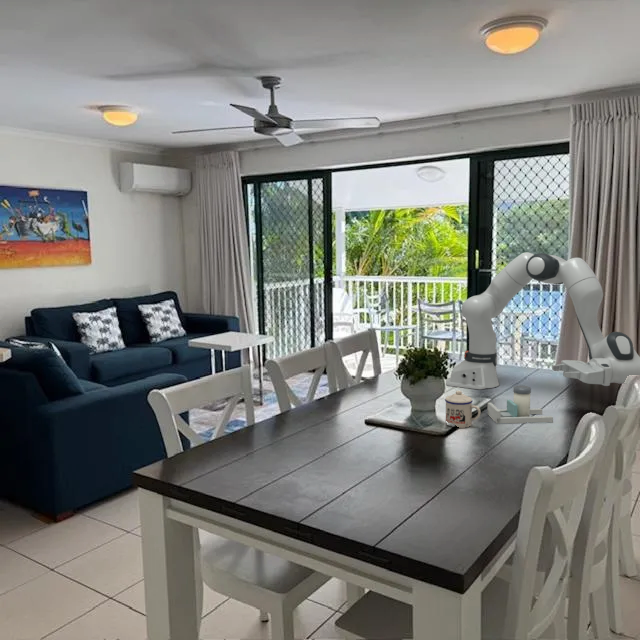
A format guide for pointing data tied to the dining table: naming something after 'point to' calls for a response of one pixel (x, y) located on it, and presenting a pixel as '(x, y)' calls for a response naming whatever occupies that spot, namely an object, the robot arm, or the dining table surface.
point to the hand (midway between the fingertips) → (558, 371)
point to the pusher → (510, 410)
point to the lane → (496, 416)
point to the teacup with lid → (460, 410)
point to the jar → (522, 400)
